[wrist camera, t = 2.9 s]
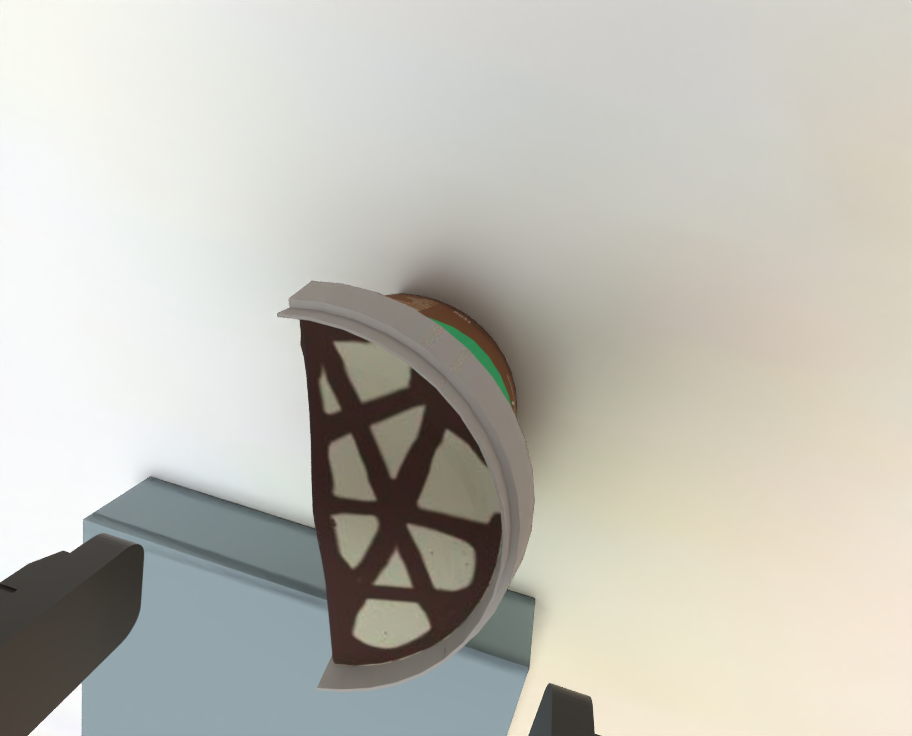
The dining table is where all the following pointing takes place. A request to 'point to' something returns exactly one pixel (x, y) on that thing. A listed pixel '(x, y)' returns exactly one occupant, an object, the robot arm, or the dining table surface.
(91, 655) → the robot arm
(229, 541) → the book
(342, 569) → the food container
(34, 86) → the dining table surface
